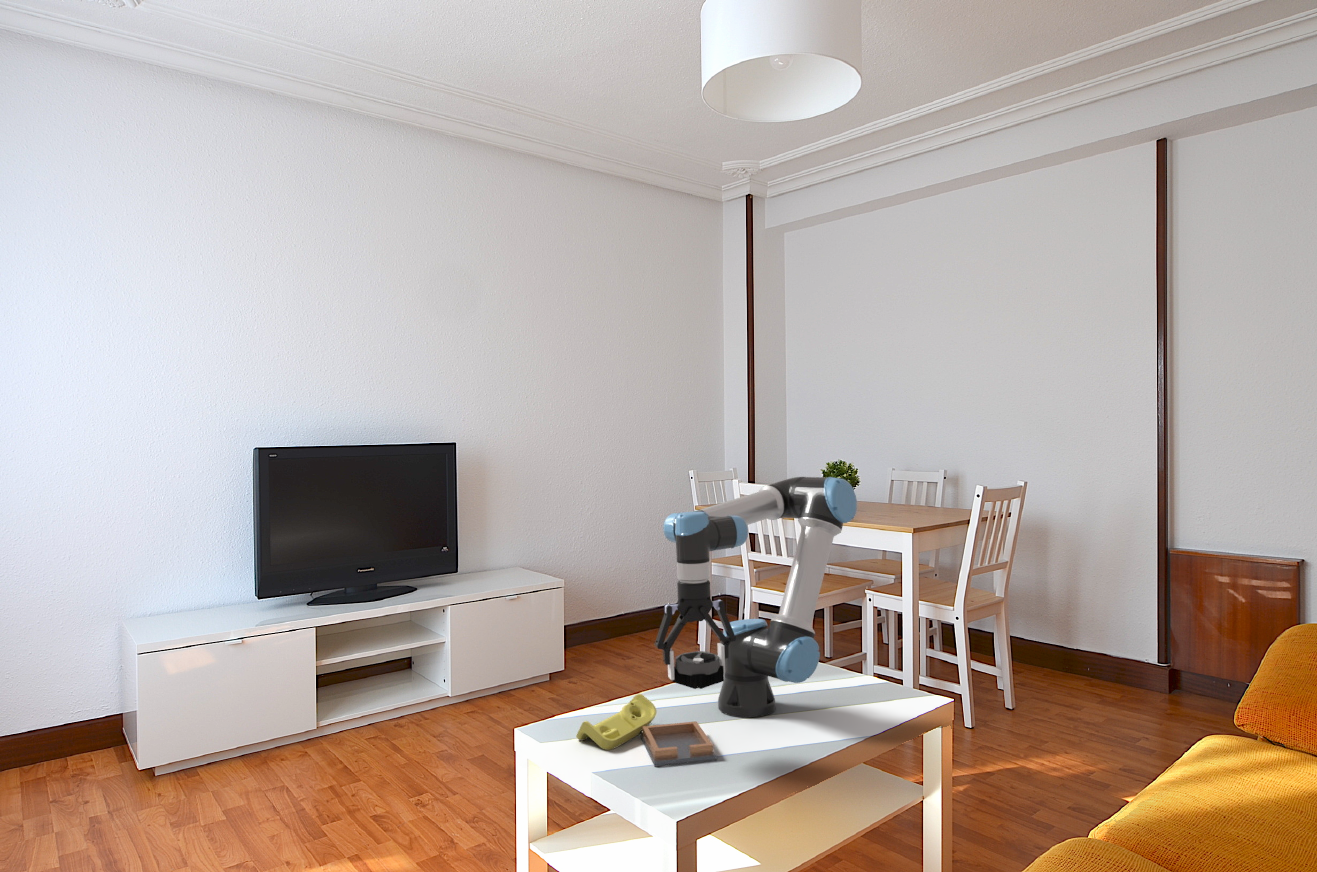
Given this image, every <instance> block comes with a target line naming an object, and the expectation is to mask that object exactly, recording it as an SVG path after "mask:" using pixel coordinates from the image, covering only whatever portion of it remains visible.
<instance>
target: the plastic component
mask: <svg viewBox="0 0 1317 872" xmlns="http://www.w3.org/2000/svg"><path fill="white" fill-rule="evenodd" d="M657 712H658V711H657V708H656V706H655V704H654V703H652V701H651V700H649V698H647V697H646V696H645V695H643V693H638V694H635V696H634V697H632V699H631V700H630V701H629V702H628V703H626V704H625V705H624V706H623V707H622V709H621V710H620V711H619V712H617V713H615V714H613V715H611V716H609V717H608V718H606V719H603V720H602V721H600V722H598V723H596V724H594V725H593V724H591V722H589V721H588V720H584V721H583V722H582V723H581V726H580V727H579V729H578V731H577V733H576V739H578V740H579V741H584V740H587V739H588V738H590V739H591V740H592V741H594V743H596V745H598V747H600V748H601V749H603V750H606V751H610V750H614V749H616V748H618V747H619V746H621V745H623V744H625V743H626V742H628V741H630V740H632V739H633V738H635V737H637V736H639V735H640V732H642V726H650V724H651V722H652V721H653V720H654V719H655V717H656V715H657Z"/></svg>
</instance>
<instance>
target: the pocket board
mask: <svg viewBox="0 0 1317 872" xmlns="http://www.w3.org/2000/svg"><path fill="white" fill-rule="evenodd" d="M639 735H640V739H641V741H642V744H643V746H644V748H645V749H646V751H647V754H648V756H649V758H650V760H651V763H652V764H653V766H654V768H656V767H666V766H676V765H685V764H686V765H687V764H695V763H703V762H712V761H713V762H715V761H717V754H716V753H715V751H714V744H713V742H712V741H711V739H710V738H709V737H708V736H707V734H706V732H705V731H704V730H703V729H702V727H701V725H700V724H699V723H698V721H686V722H675V723H665V724H653V725H648V726H642V730H641V731H640V734H639Z"/></svg>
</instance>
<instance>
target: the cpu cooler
mask: <svg viewBox="0 0 1317 872" xmlns="http://www.w3.org/2000/svg"><path fill="white" fill-rule="evenodd" d="M671 681H672V683H675V684H678V685H681V686H684V687H688V688H690V689H695V690H696V689H700V690H701V689H705V688H708V687H712V686H713V685H716V684H719V683H723V681H724V668H723V666H720V657H719V656H718V654H717V653H716V654H715V653H712V652H708V651H705V650H704V651H701V650H695V651H691V652H684V653H681V654H679V655H676V656H674V680H671Z"/></svg>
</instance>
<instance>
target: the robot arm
mask: <svg viewBox="0 0 1317 872" xmlns="http://www.w3.org/2000/svg"><path fill="white" fill-rule="evenodd" d="M857 509H858V500H857V495H856V493H855V489H854V487H853V486H852V485H851V483H850V482H849V481H847V480H846V479H845V478H838V477H833V476H828V477H820V476H819V477H816V476H797V477H791V478H787V479H786V478H785V479H784V480H783V479H782V480H780V481H777V482H774V483H771V484H767V485H765V486H762V487H761V488H760V489H758V492H757V491H756V492H753V493H751V494H747V495H743V496H740V497H737V498H734V499H731V500H727V501H723V502H720V503H717V504H714V505H711V506H707V507H703V508H701V509H698V510H693V511H682V512H676V513H675V512H674V513H671V514H669V515H668V516H667V517H666V518H665V519H664V520H665V521H664V523H663V533H664V534H663V535H664V536H665V538H666V539H667V541H669V542H671V543H674V544H675V550H676V553H675V554H676V577H677V580H678V582H677V583H676V584H677V602H676V603H675V604H668V603H665V604H664V607H663V610H664V611H663V612H664V613H663V617H662V620H661V623H660V626H659V629H658V632H657V636H656V639H655V642H654V646H655V647H656V648H657V649H658V650H662V656H663V657H662V659H663V663H664V665H666V666H667V676H668V677H667V678H668V679H670V680H671V681H672V680H674V666H675V656H674V655H675V654H674V650H673V649H672V647H673V645H674V643H675V642H676V641H677V638H678V637H679V635H680V633H681V632H682V630H683V629H684V627H685V626H686V625H687V623H688V622H689V623H693V622H703V621H705V622H706V623H707V625H708V626H709V627H710V629H711V630H712V632H713V633H714V634H715V635H716V637H717V638H718V640H719V641H720V642H717V644H716V645H717V656H719V657H720V666H723V668H724V681H722V684H721V689H720V692H719V694H718V698H717V704H718V705H717V707H718V710H719V711H720V712H721V713H723V714H724V715H725V714H726V715H729V716H733V717H738V718H757V717H763V716H764V717H765V716H767V715H768V716H769V714H770V715H771V714H772V713H774V712H775V710H776V698H775V695H774V693H773V689H772V687H771V683H770V681H769V677H770V678H774V679H777V680H780V681H782V682H784V683H785V682H787V683H788V682H789V683H795V684H800V683H803V682H805V681H806V680H807V679H809V678H810V677H811V676H813V675H814V673H815V671H816V670H817V667H818V665H819V661H820V656H821V655H820V654H821V653H820V651H819V650H820V646H819V644H818V642H817V641H816V640H815V636H816V632H815V630H814V627H813V626H812V623H813V619H814V615H815V611H816V608H817V604H818V599H819V596H820V592H821V590H822V589H821V588H822V584H823V580H824V576H825V573H826V570H827V564H828V562H829V561H828V560H829V558H830V555H831V554H830V553H831V549H832V545H833V541H834V538H835V537H836V536H837V535H839V534H841V533H842V532H843V531H842V530H843V526H844V524H847V523H850V522H851V521H852V520H853V519H854V518H855V517H856V514H857ZM784 518H785V519H797V521H798V523H799V525H800V527H801V529H800V533H799V536H798V537H799V538H798V541H797V544H796V549H795V551H794V552H795V553H794V556H793V559H792V564H791V566H790V567H791V568H790V571H789V574H788V578H787V582H786V585H785V590H784V592H783V593H784V594H783V597H782V600H781V604H780V607H779V612H778V614H777V616H775V617H773V618H772V619H770V622H769V625H768V623H767V621H766V620H765V619H763V618H746V619H739V620H738V619H737V620H734V621H733V620H732V621H730V620H729V618H728V616H727V613H726V608H725V607H726V606H725V605H726V603H725V602H724V601H723V600H721V599H720V598H718V599H716V600H712V598H711V597H712V594H711V581H710V580H709V579H710V578H711V567H710V564H711V563H710V561H711V560H710V552H714V551H719V550H726V549H727V550H728V549H734V548H738V547H739V546H740V547H741V546H743V545H744V544H745V543H746V541H747V539H748V535H749V532H748V531H749V527H748V525H751V524H755V523H757V522H761V521H763V520H770V521H776V520H778V519H784ZM713 608H714V609H715V610H716V612H717V614H718V617H719V619H720V622H721V625H722V627H723V630H721V629H720V627H719V626H718V625H717V623H716V622H715V621H714V619H713V618H712V616H711V614H710V612H711V610H712V609H713ZM676 611H678V613H679V615H678V617H677V618H676V621H675V622H674V625H673V627H672V628H671V630H670V632H669V633H668V631H669V627H670V624H671V621H672V619H673V616H674V615H675V612H676Z"/></svg>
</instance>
